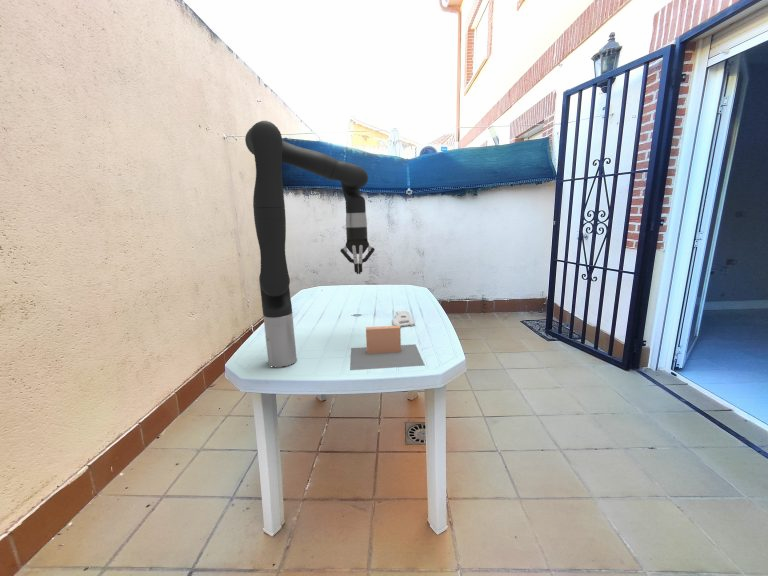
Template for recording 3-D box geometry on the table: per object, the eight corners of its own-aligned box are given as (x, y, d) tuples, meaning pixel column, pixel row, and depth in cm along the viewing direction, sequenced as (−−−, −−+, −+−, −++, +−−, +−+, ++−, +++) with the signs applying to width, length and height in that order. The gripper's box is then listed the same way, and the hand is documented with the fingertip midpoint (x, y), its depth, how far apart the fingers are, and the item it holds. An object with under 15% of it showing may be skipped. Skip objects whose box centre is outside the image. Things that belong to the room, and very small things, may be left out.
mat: (350, 371, 108) (349, 370, 108) (351, 349, 126) (351, 348, 126) (424, 366, 110) (424, 365, 110) (415, 345, 127) (415, 344, 127)
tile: (367, 353, 120) (365, 329, 118) (366, 351, 122) (365, 327, 120) (400, 351, 121) (400, 327, 119) (400, 349, 123) (399, 325, 121)
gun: (388, 309, 162) (409, 308, 164) (388, 316, 163) (409, 315, 165) (394, 323, 145) (417, 322, 146) (394, 331, 146) (417, 329, 147)
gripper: (337, 226, 118) (340, 276, 122) (375, 225, 119) (377, 274, 123) (338, 226, 126) (341, 272, 129) (374, 225, 127) (376, 271, 130)
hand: (358, 273), depth 126 cm, fingers closed
